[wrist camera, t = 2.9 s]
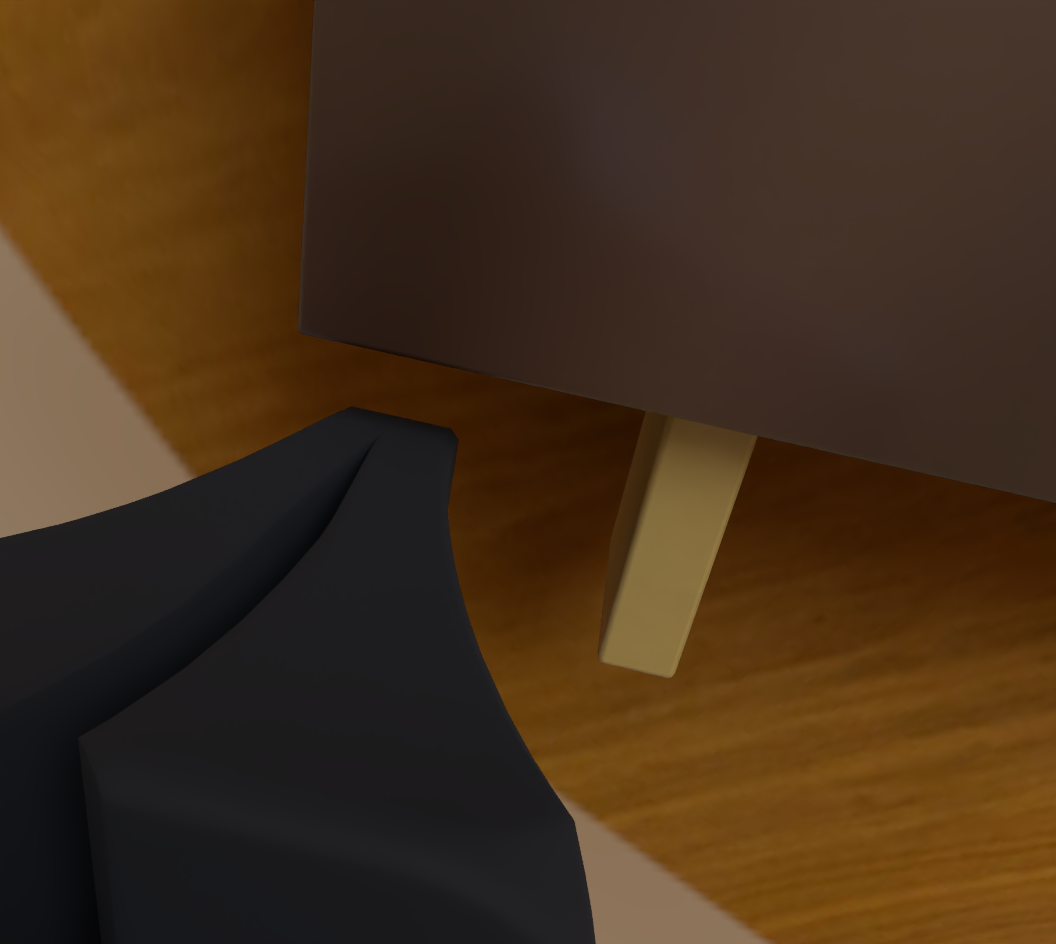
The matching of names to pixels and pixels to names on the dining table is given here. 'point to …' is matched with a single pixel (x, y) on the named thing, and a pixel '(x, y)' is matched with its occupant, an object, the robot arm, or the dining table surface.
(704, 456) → the sliding door
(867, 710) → the dining table surface
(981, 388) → the cabinet
